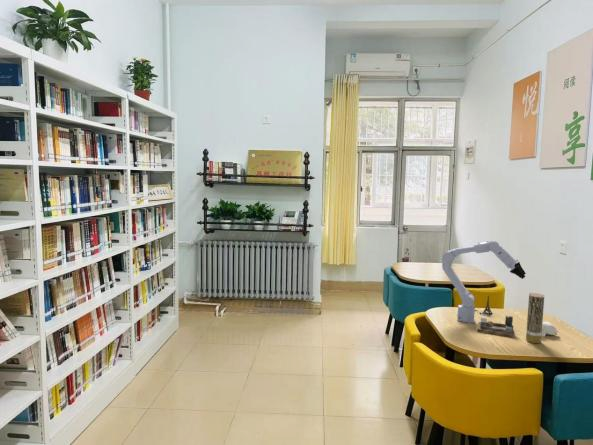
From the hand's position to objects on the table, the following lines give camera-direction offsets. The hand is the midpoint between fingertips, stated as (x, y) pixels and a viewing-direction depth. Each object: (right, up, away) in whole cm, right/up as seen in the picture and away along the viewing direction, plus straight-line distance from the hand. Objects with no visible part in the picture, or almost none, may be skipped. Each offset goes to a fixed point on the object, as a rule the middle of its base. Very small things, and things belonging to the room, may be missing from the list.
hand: (524, 276), depth 225 cm
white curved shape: (+7, -32, -5) cm, 33 cm away
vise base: (-17, -31, -1) cm, 35 cm away
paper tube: (-4, -32, -16) cm, 36 cm away
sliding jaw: (-11, -29, -4) cm, 31 cm away
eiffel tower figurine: (-7, -29, +31) cm, 43 cm away
